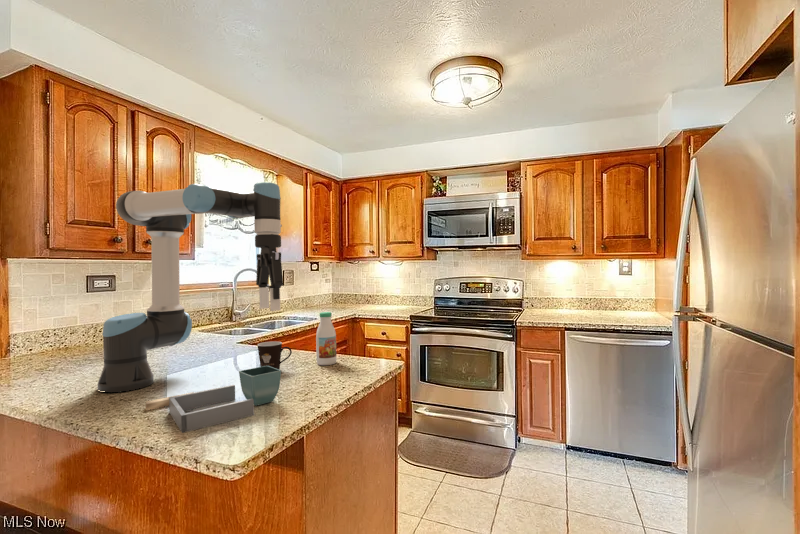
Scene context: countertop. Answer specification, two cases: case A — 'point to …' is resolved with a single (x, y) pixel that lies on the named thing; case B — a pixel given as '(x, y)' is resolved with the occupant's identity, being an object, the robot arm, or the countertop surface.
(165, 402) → the scraper
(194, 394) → the box
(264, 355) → the coffee mug
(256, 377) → the flower pot
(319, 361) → the milk bottle
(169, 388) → the countertop surface
